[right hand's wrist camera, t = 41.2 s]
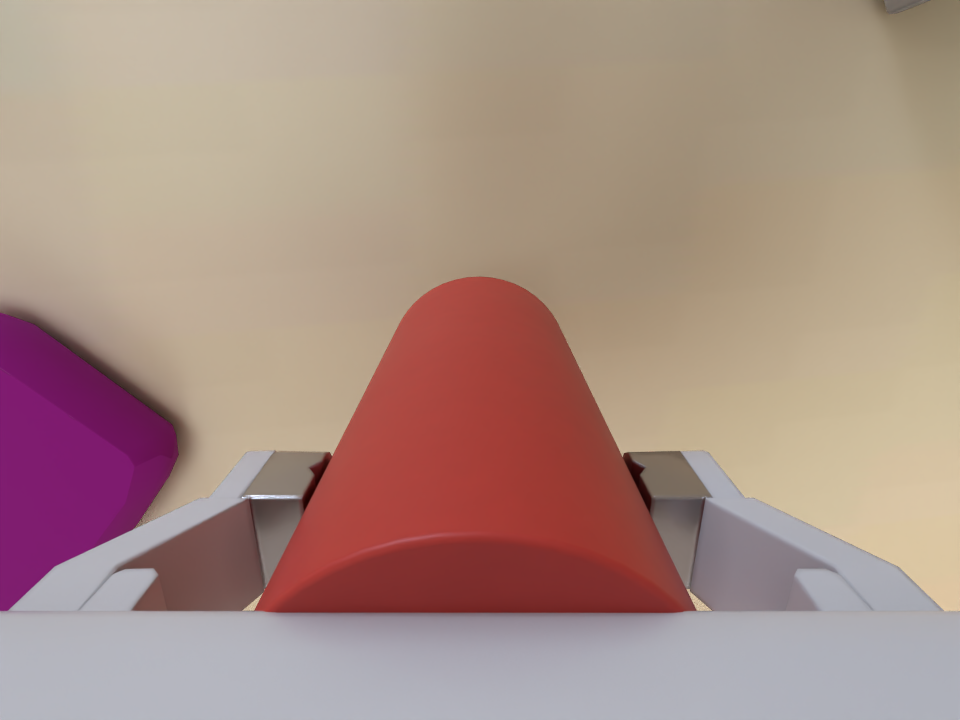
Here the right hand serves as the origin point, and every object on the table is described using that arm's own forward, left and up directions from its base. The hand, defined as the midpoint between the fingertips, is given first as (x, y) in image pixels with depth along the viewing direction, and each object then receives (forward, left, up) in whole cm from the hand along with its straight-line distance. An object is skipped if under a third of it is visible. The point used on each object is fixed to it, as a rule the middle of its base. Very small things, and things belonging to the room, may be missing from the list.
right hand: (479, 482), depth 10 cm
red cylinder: (0, 0, -7) cm, 7 cm away
